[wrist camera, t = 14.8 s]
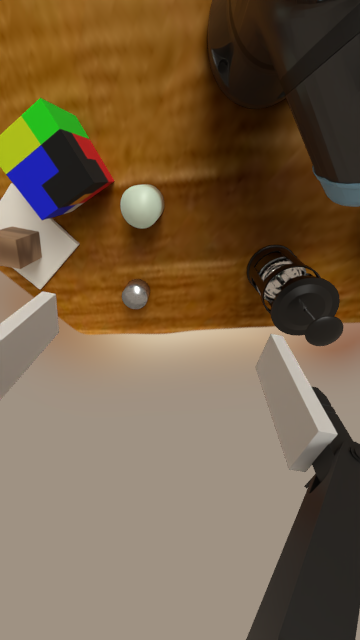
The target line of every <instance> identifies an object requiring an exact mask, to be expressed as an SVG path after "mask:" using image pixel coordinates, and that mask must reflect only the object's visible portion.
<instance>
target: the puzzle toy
mask: <svg viewBox="0 0 360 640" xmlns="http://www.w3.org/2000/svg"><path fill="white" fill-rule="evenodd" d="M0 167H1V168H2V170H3V171H4V172H5V174H6V175H7V176H8V177H9V179H10V180H11V181H12V183H13V184H14V185H15V186H16V188H17V189H18V190H19V192H20V193H21V194H22V195H23V197H24V198H25V199H26V201H27V202H28V203H29V204H30V206H31V207H32V208H33V210H34V211H35V212H36V213H37V215H38V216H39V217H40V219H41V220H45V219H49V218H52V217H55V216H59V215H62V214H66V213H69V212H72V211H73V210H75V209H76V208H77V207H79V206H80V205H82V204H83V203H85V202H86V201H87V200H89V199H90V198H92V197H93V196H95V195H96V194H97V193H99V192H100V191H102V190H103V189H105V188H106V187H107V186H109V185H110V184H112V183H113V182H114V179H113V178H112V176H111V174H110V173H109V171H108V169H107V168H106V166H105V164H104V163H103V161H102V159H101V158H100V156H99V154H98V153H97V151H96V149H95V148H94V146H93V144H92V143H91V141H90V139H89V138H88V136H87V134H86V133H85V131H84V129H83V128H82V126H81V124H80V122H79V121H78V119H77V117H76V116H75V115H73V114H71V113H69V112H67V111H65V110H63V109H61V108H59V107H57V106H55V105H54V104H52V103H50V102H48V101H46V100H44V99H42V98H40V99H39V100H37V101H36V102H35V103H34V104H33V105H32V106H31V107H30V108H29V109H28V110H27V111H26V112H25V113H23V114H22V115H21V116H20V117H19V118H18V119H17V120H16V121H15V122H14V123H13V124H12V125H11V126H9V127H8V128H7V129H6V130H5V131H4V132H3V133H2V134H1V135H0Z"/></svg>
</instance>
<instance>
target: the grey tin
mask: <svg viewBox="0 0 360 640" xmlns="http://www.w3.org/2000/svg"><path fill="white" fill-rule="evenodd" d="M149 294H150V288H149V286H148V284H147V283H146V282H145V281H143V280H141V279H134V280H131V281H130V282H129V283H128V285H127V286H126V288H125V289H124V291H123V293H122V300H123V302H124V304H125V305H126V306H128V307H129V308H132V309H140V308H142V307H144V306H145V304H146V302H147V299H148V297H149Z"/></svg>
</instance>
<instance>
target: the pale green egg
mask: <svg viewBox="0 0 360 640" xmlns="http://www.w3.org/2000/svg"><path fill="white" fill-rule="evenodd" d="M163 210H164V198H163V196H162V194H161V192H160V191H159V190H158V189H157V188H156V187H155V186H153V185H150V184H142V185H136V186H132V187H130V188H128V189H127V190H126V191H125V192H124V194H123V196H122V198H121V212H122V215H123V217H124V218H125V220H126V221H127V222H128V223H129V224H130V225H132V226H134V227H136V228H147V227H150V226H151V225H153V224H154V223H155V222H156V220H157V219H158V218H159V217H160V216H161V214H162V212H163Z"/></svg>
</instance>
